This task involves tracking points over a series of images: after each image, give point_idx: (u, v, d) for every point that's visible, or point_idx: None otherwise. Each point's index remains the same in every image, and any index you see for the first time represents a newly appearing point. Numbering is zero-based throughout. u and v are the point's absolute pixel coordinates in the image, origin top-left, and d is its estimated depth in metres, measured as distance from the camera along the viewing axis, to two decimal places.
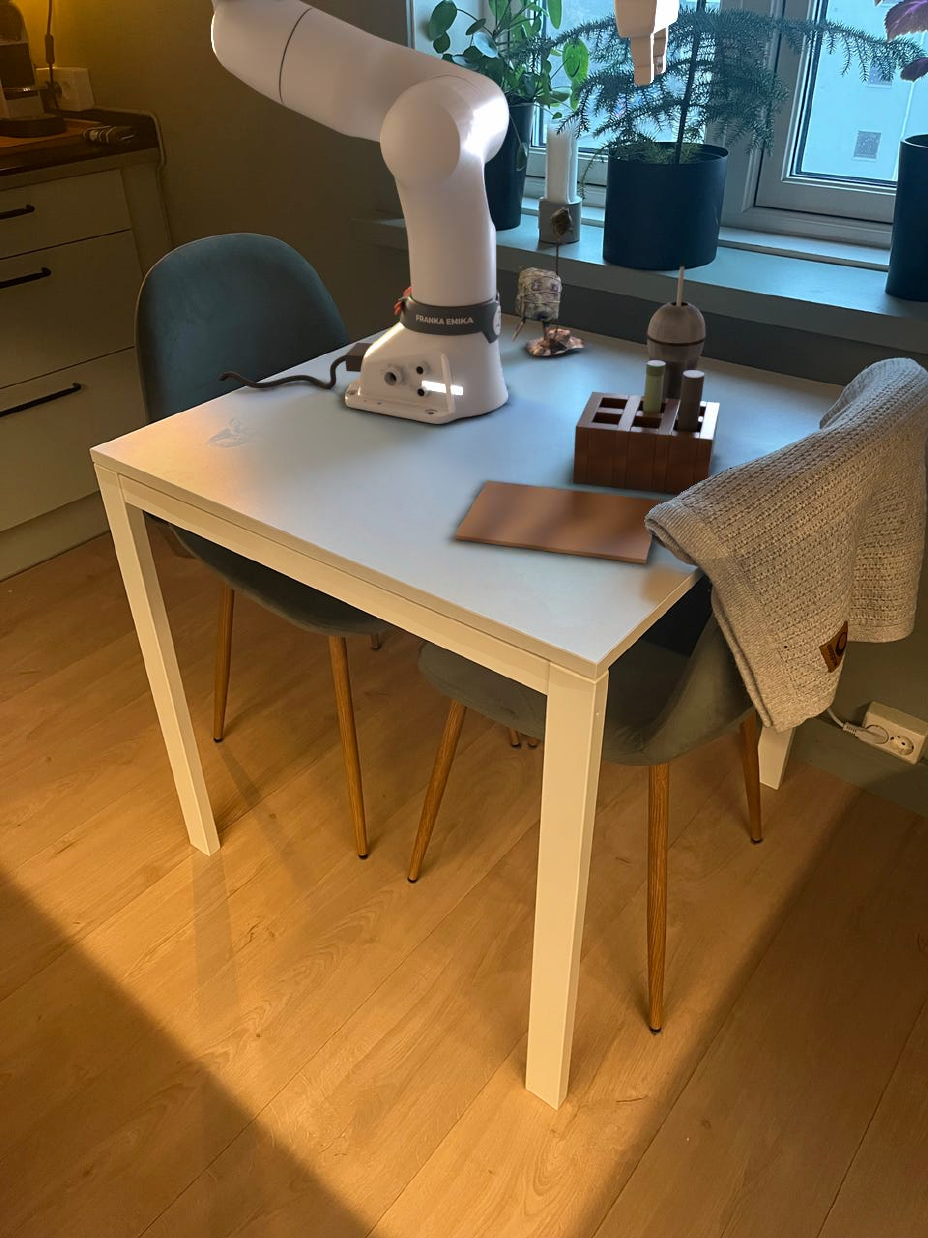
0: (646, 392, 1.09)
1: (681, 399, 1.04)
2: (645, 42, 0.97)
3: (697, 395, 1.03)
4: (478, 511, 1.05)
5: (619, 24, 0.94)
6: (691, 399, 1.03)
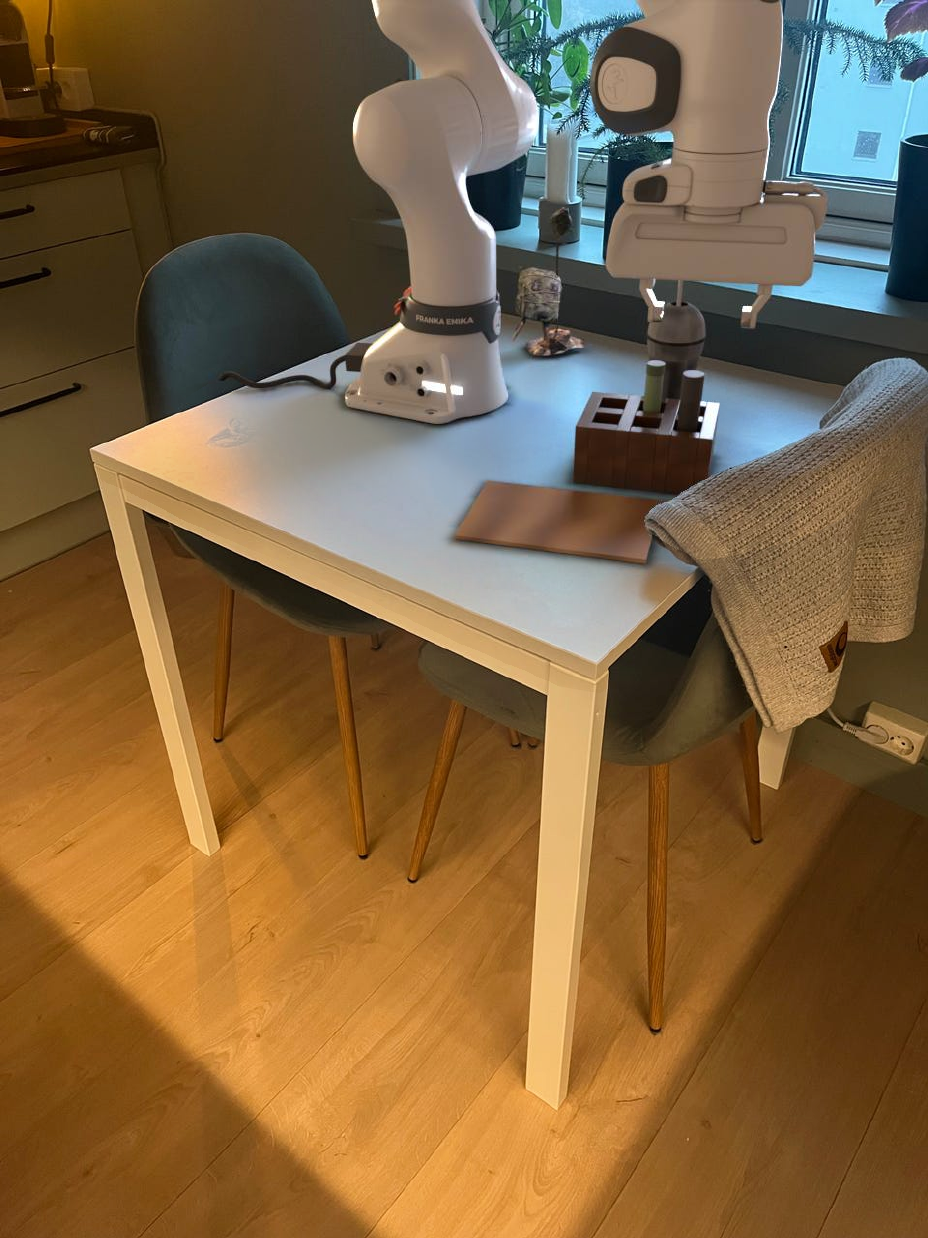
0: (646, 392, 1.09)
1: (681, 399, 1.04)
2: None
3: (697, 395, 1.03)
4: (478, 511, 1.05)
5: None
6: (691, 399, 1.03)
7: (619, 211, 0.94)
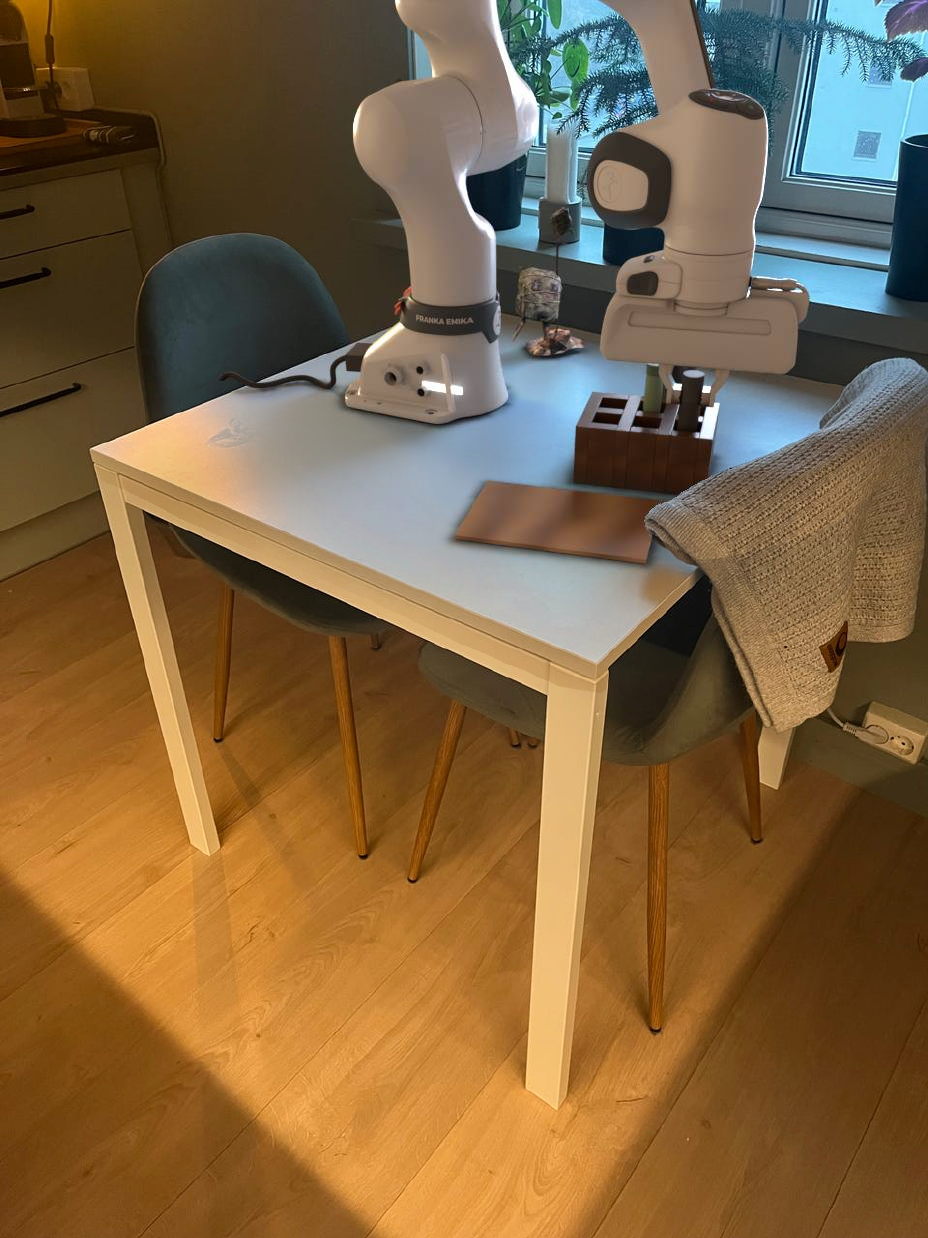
0: (646, 392, 1.09)
1: (681, 399, 1.04)
2: (659, 367, 1.03)
3: (697, 395, 1.03)
4: (478, 511, 1.05)
5: None
6: (691, 399, 1.03)
7: (613, 301, 0.99)
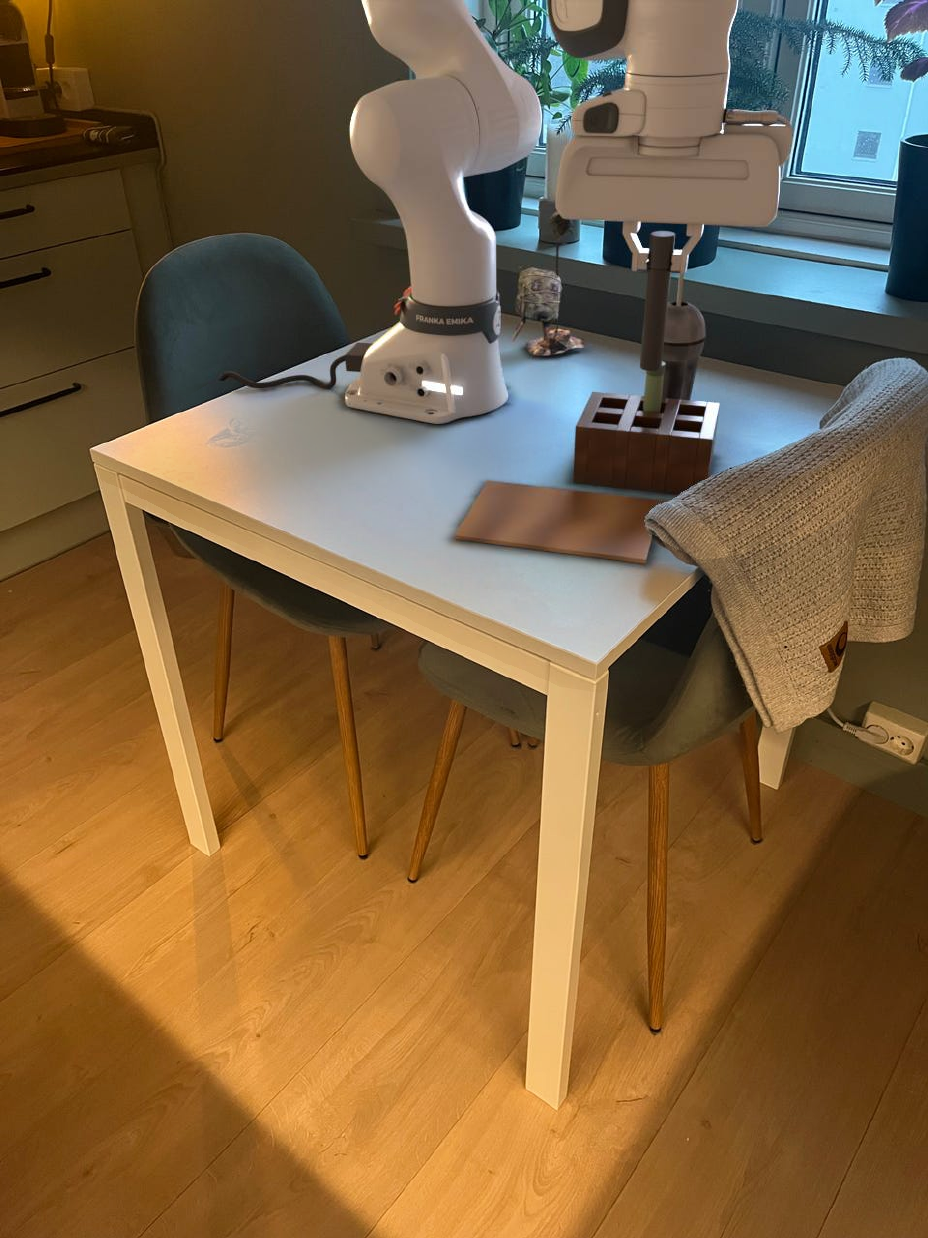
0: (646, 392, 1.09)
1: (649, 265, 0.91)
2: None
3: (666, 258, 0.90)
4: (478, 511, 1.05)
5: None
6: (660, 263, 0.91)
7: (568, 144, 0.86)
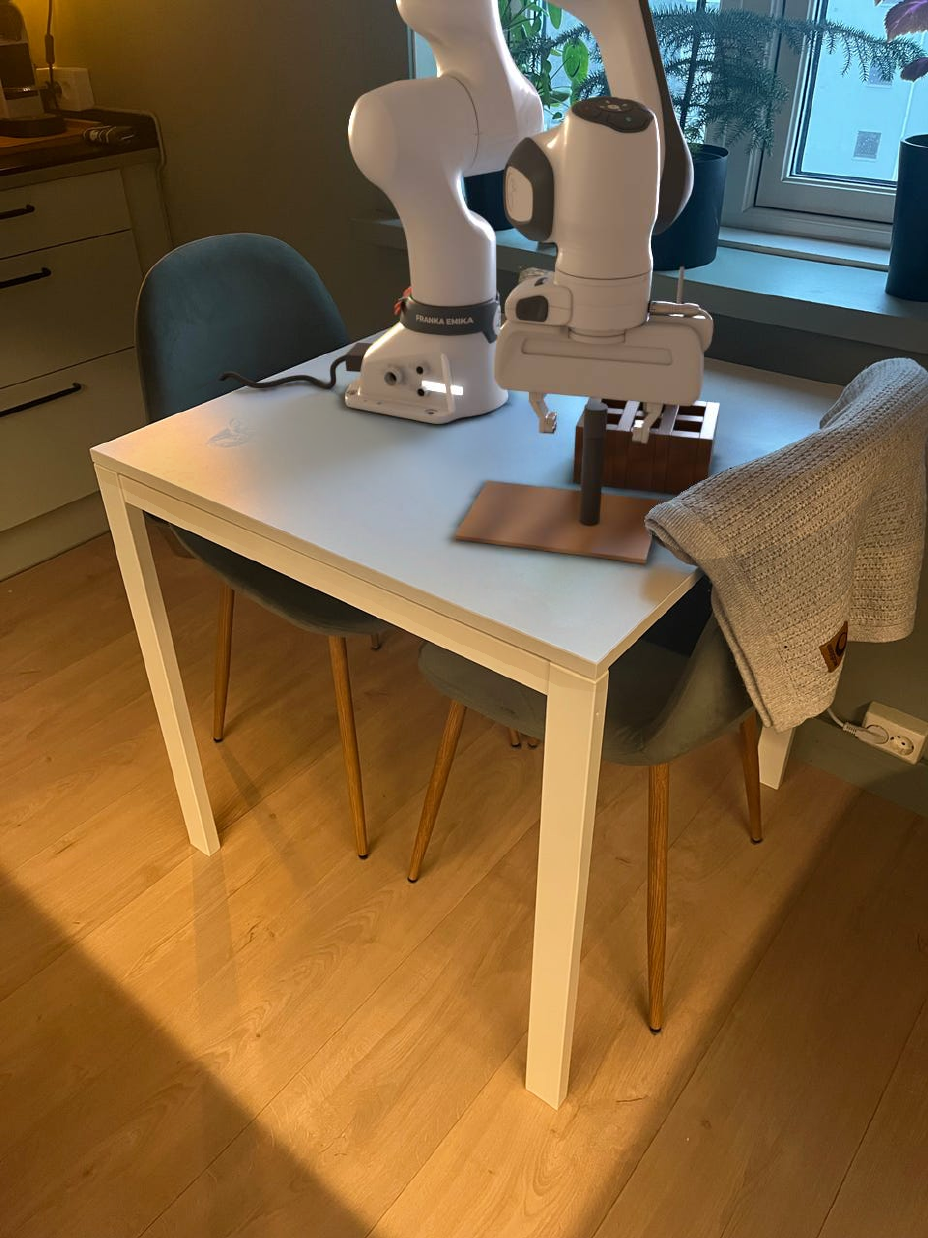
0: None
1: (584, 433, 0.96)
2: None
3: (600, 429, 0.95)
4: (478, 511, 1.05)
5: None
6: (594, 433, 0.95)
7: (503, 327, 0.91)
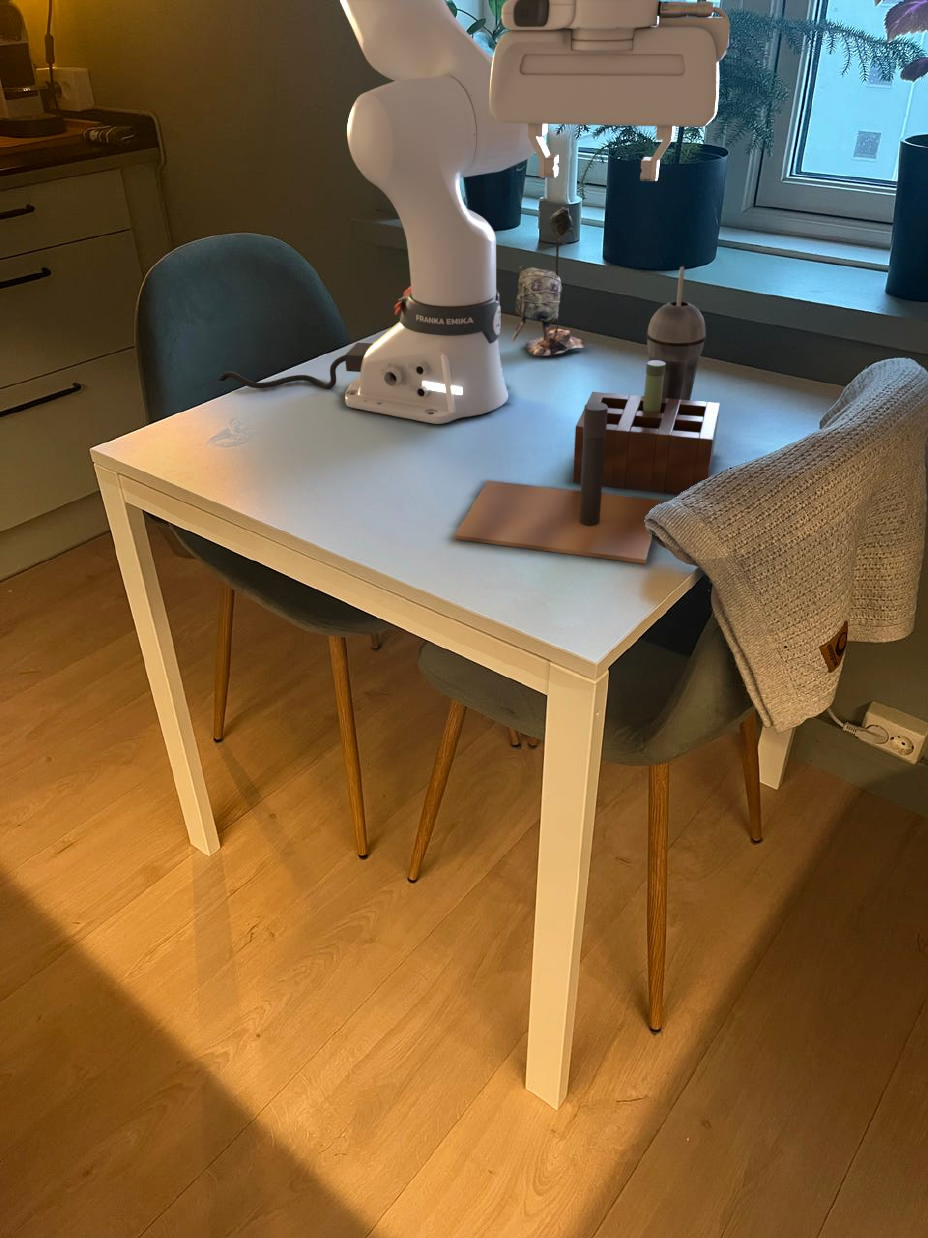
0: (646, 392, 1.09)
1: (584, 433, 0.96)
2: None
3: (600, 429, 0.95)
4: (478, 511, 1.05)
5: None
6: (594, 433, 0.95)
7: (500, 40, 0.83)
